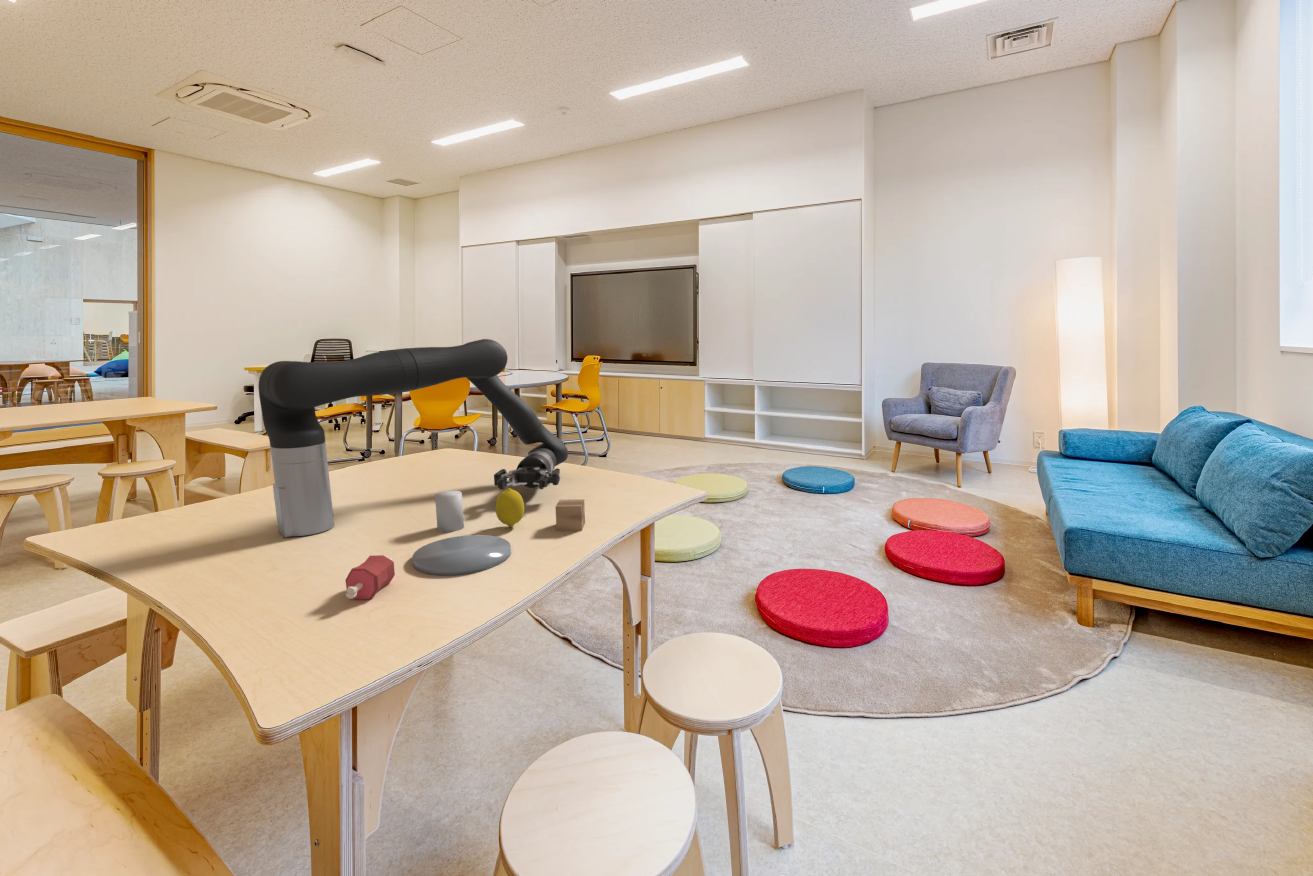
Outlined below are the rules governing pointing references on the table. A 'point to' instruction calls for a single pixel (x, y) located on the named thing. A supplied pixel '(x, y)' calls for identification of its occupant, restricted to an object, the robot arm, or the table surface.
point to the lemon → (509, 507)
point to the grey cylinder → (449, 511)
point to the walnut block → (570, 515)
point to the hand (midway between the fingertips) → (521, 485)
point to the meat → (369, 577)
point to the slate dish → (461, 555)
